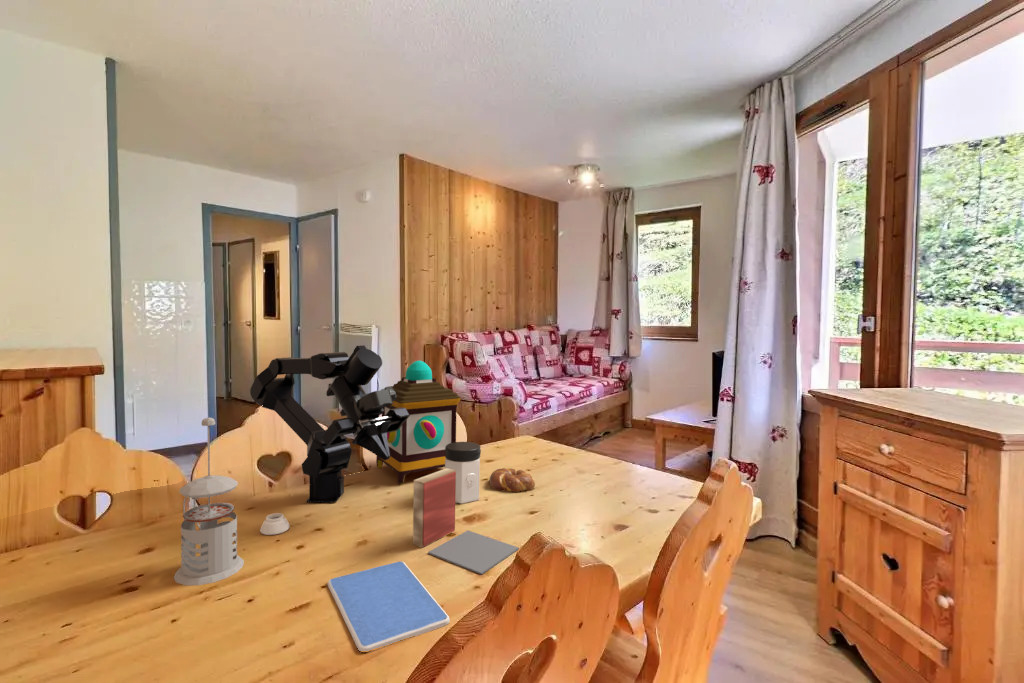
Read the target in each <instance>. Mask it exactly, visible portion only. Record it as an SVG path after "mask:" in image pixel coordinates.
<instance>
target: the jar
mask: <svg viewBox="0 0 1024 683" xmlns="http://www.w3.org/2000/svg"><path fill="white" fill-rule="evenodd" d="M481 452H482V450H481V445H480V444H479V443H476V442H471V441H456V442H454V443H450V444H447V445H446V447H445V457H446V459H445V467H444V469H446V468H448V469H452V470H456V495H455V504H457V503H458V504H466V503H467V504H468V503H471V502H472V503H473V502H475V501H480V469H481V468H480V466H481V465H480V463H481V462H480V461H481Z"/></svg>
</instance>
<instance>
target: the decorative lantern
mask: <svg viewBox="0 0 1024 683" xmlns="http://www.w3.org/2000/svg"><path fill="white" fill-rule="evenodd" d="M387 387H392V388H393V390H394V391H395V393H396V396H397V398H396V400H395V401H393V404H392V405H388V406H386V407H384V408H383V410H384V411H383V413H382V414H381V417H384V416H385V415H386V414H387V412H388V411H389V410H390V409H395V408H401V407H402V408H406V410H407V412H408V413H409V415H410V416H409V417H408V419H407V420H406V421H405V422H404V423H403V425H402V426H401V427H400V428H399V429H398V430H397V431H394V432H390V433H387V439H388V446H389V452H390V458H389V459H388V460H383V459H382V458H380V457H378V456H377V455H376V460H375V462H376V467H377V468H378V469H381V468H383V464H384V465H386V466H387V467H389V468H390V469H391V470H392V471H394V472H395V473H396V474H397V482H398V484H399V485H404V482H405V477H406V475H408V474H411V473H418V472H423V471H428V470H435V469H439V468H445V459H446V457H445V447H446V445H447V444H450V443H454V442H457V410H458V409H457V408H458V405H459V403H460V401H461V396H459V394H458V393H456V392H455V391H454V390H453V389H451V388H447V387H446V386H444V385H441V383H440V382H438V381H437V379H436V378H434V377H433V372H432V368H430V366H429V365H428V364H427V363H426V362H425V361H422V360H415V361H413V362H411V364H410V365H409V366H408V367H407V369H406V370H405V377H401V379H400V380H398V381H397V382H396V383H394V384H393V385H392V386H387Z"/></svg>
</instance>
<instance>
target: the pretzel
mask: <svg viewBox="0 0 1024 683" xmlns="http://www.w3.org/2000/svg"><path fill="white" fill-rule="evenodd" d="M489 483H490V484H489V485H490V486H491V488H492V489H493V490H496V491H502V490H505V491H507V492H512V493H513V492H514V493H521V492H524V491H526V490H529V491H532V490H533V489H534V488H535V486H536V483H535V480H534V479H533V476H532V475H531V474H530V473H527V472H526V471H525V470H522V469H518V470H516V469H515V468H505V467H504V468H497V469H495V470H494V471H493V472H492V473H491V474H490V476H489ZM520 491H521V492H520Z"/></svg>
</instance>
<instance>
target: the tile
mask: <svg viewBox="0 0 1024 683" xmlns="http://www.w3.org/2000/svg"><path fill="white" fill-rule="evenodd" d="M455 495H456V470H452V469H448V468H446V469H445V468H444V469H441V470H438V471H435V472H432V473H429V474H427V475H424V476H421V477H419V478H418V477H417V478H416V479H413V503H412V504H413V507H412V508H413V513H412V514H413V517H412V518H413V520H412V531H413V532H412V545H414V546H417V547H419V548H421V549H422V548H424V547H426V546H428V545H430V544H432V543H434V542H436V541H438V540H440V539H442V538H444V537H445V536H447V535H450V534H451V533H452V532H453V533H454V532H455V531H456V502H455Z"/></svg>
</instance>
